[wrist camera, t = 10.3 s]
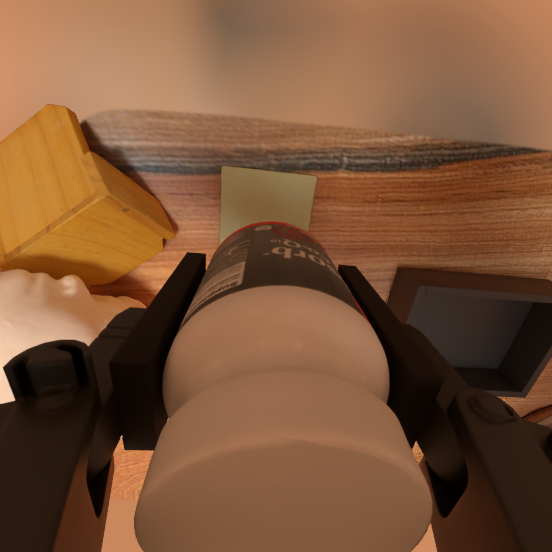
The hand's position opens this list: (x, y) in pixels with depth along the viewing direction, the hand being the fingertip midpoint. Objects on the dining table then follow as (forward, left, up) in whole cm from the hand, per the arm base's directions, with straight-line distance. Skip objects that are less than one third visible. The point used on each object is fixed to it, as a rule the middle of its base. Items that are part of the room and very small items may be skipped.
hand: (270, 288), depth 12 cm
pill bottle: (0, 0, -1) cm, 1 cm away
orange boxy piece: (+13, +3, -10) cm, 17 cm away
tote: (-22, +10, -14) cm, 28 cm away
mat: (0, 0, -14) cm, 14 cm away
